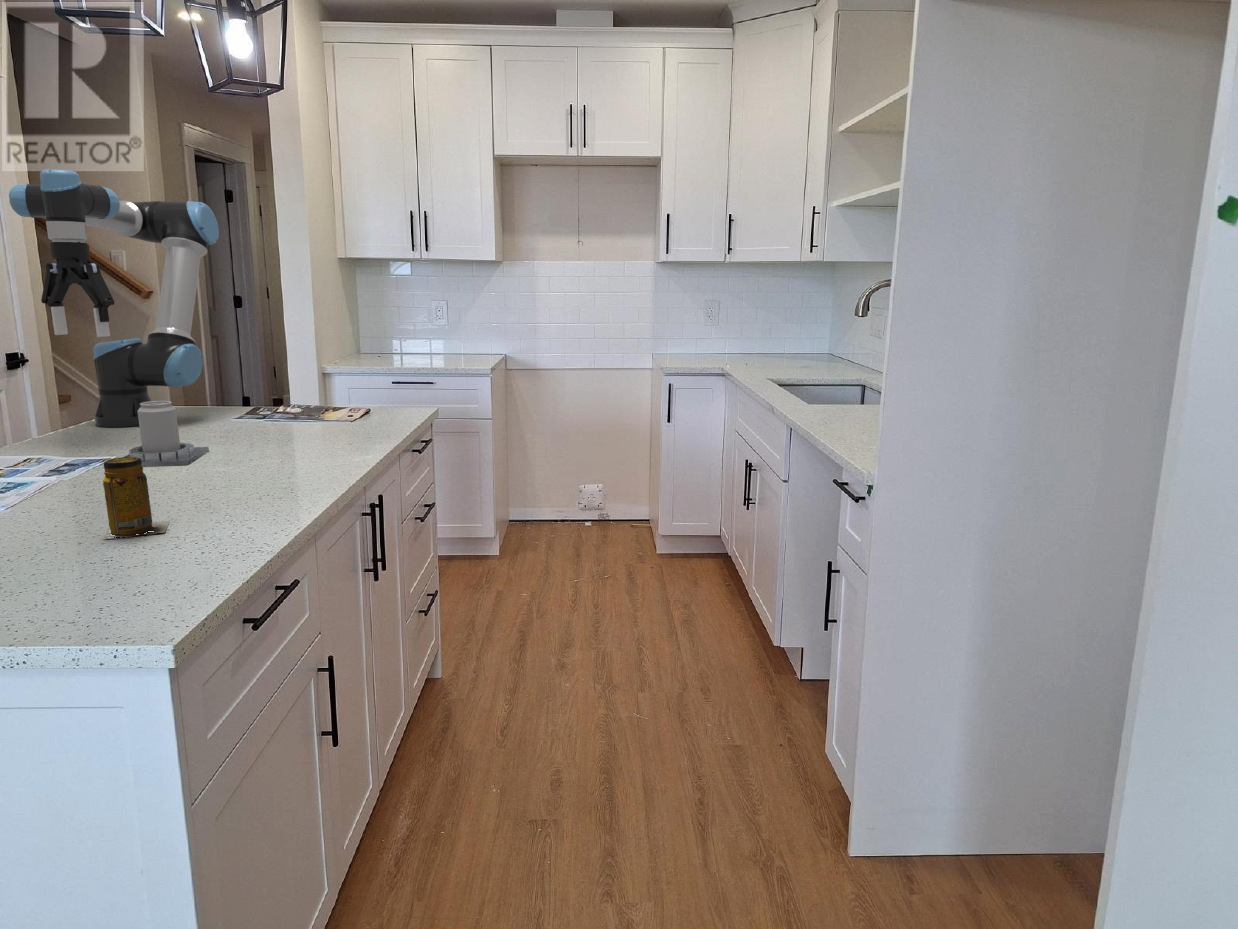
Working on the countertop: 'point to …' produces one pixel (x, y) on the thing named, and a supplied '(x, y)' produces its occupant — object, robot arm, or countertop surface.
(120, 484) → the condiment
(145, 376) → the robot arm
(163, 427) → the can
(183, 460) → the duct flange
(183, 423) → the countertop surface
